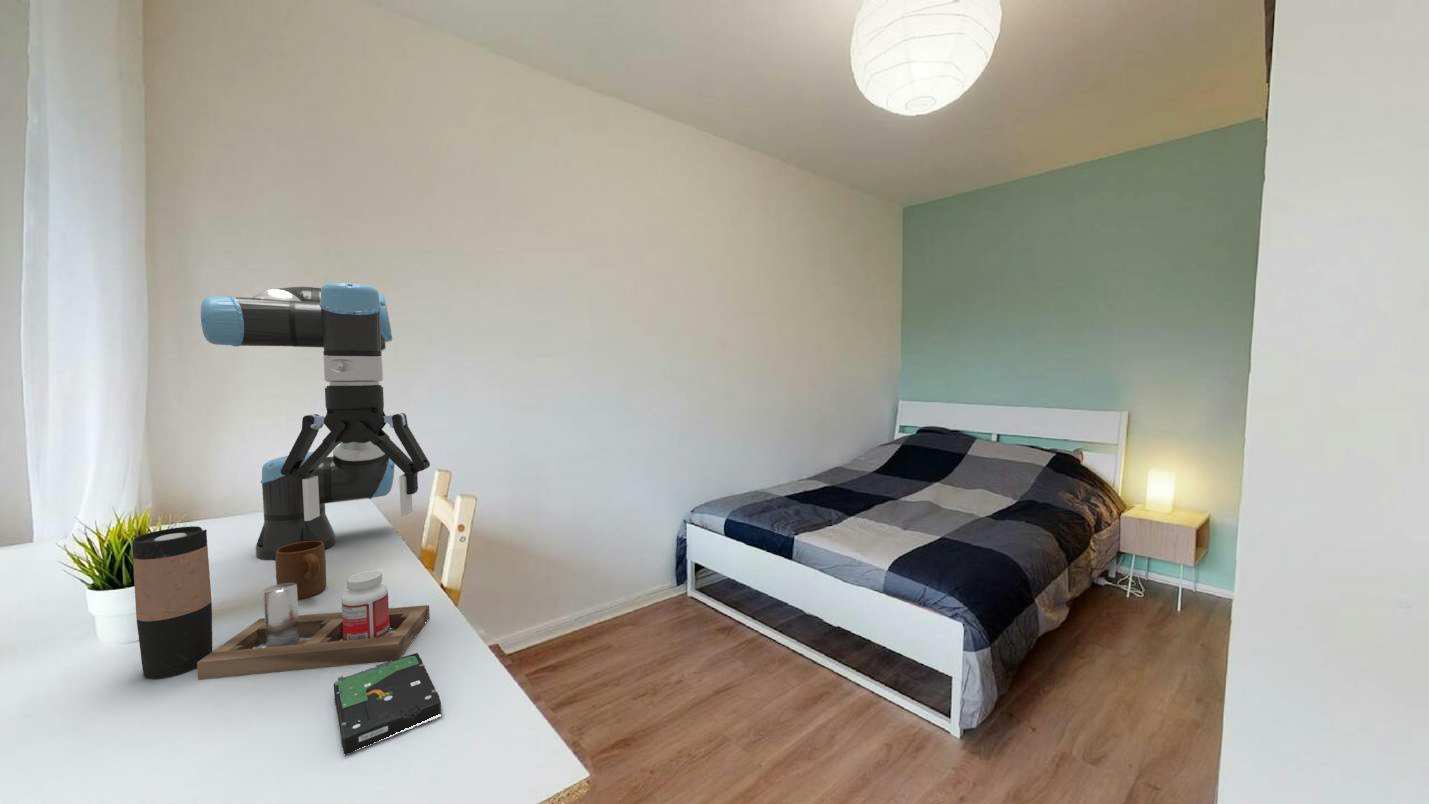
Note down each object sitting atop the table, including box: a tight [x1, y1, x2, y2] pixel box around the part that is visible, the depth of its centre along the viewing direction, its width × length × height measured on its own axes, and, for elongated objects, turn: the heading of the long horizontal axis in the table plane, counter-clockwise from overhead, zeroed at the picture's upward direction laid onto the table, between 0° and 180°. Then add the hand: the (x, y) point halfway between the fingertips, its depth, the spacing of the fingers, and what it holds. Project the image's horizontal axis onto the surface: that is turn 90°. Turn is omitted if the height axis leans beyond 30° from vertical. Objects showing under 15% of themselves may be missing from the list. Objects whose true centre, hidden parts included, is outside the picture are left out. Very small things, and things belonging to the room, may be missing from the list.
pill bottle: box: [341, 569, 391, 641], centre depth 82 cm, size 6×6×11 cm
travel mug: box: [131, 525, 213, 680], centre depth 75 cm, size 8×8×20 cm
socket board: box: [196, 604, 430, 680], centre depth 81 cm, size 13×26×2 cm, turn 101°
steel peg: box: [262, 583, 301, 648], centre depth 79 cm, size 4×4×10 cm
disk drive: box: [333, 652, 442, 756], centre depth 67 cm, size 10×3×15 cm
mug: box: [274, 541, 327, 600], centre depth 99 cm, size 12×8×9 cm, turn 54°
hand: (360, 516), depth 81 cm, fingers open, 13 cm apart
